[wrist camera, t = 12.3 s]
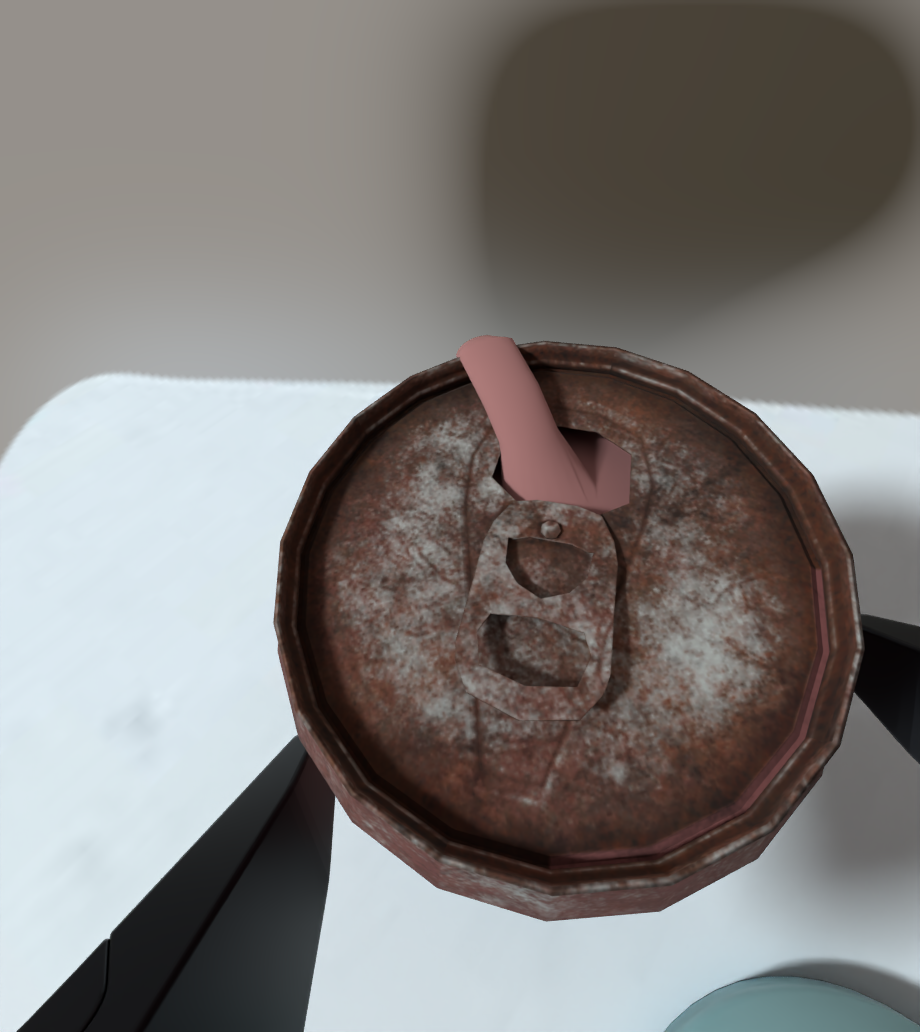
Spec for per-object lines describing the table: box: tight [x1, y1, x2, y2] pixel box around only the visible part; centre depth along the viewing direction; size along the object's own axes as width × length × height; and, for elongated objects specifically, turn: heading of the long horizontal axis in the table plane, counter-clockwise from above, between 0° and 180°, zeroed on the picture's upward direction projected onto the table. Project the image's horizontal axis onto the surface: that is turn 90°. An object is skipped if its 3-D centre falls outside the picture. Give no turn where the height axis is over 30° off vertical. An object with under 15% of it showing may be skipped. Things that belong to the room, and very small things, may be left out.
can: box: [274, 335, 865, 921], centre depth 11 cm, size 6×6×14 cm
